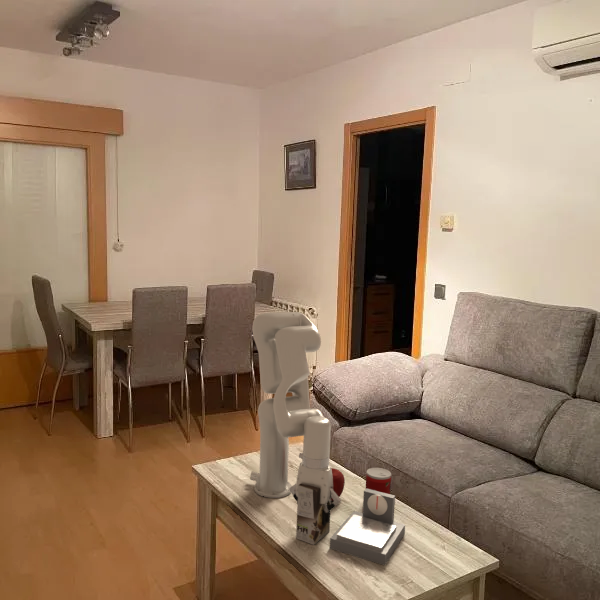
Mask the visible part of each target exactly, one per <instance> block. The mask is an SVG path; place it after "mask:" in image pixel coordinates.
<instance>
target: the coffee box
mask: <svg viewBox="0 0 600 600" xmlns="http://www.w3.org/2000/svg"><path fill="white" fill-rule="evenodd" d="M320 491H321V489H320V488H318V487H314V486H310V485H304V484H299V485H298V505H297V507H296V508H297V511H296V533H295V534H296V535H295V539H297V540H300V541H302V542H305V543H308V544H311V545H313V546H314V545H315V544H317V543H318V542H319V541H320V540H322V539H323V538H324V537H325V536H327V535H328V533H330V528H331V520H330V521H329V522H328V523H327V524H326V525H325V526H324V525H322V513H323V511H324V508H323V506H322V504H320ZM329 500H330V502H331V503H332V501H331V499H329Z"/></svg>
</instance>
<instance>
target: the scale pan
mask: <svg viewBox="0 0 600 600" xmlns="http://www.w3.org/2000/svg"><path fill="white" fill-rule="evenodd" d="M395 530H396V526H395V525H391V524H387V523H384V522H380V521H376V520H372V519H369V518H365V517H361V516H358V515H353V516H352V517H351V519H350V520H349V521H348V522H347V523H346V524H345V526H344V527H343V528H342V529H341V530H340V531H339V533H338V534H337V538H338V539H341V540H345V541H348V542H352V543H355V544H358V545H362V546H365V547H369V548H372V549H375V550H379V551H382V550H383V548H384V547H385V545H386V544H387V542H388V541H389V539H390V538H391V536H392V535H393V533H394V532H395Z"/></svg>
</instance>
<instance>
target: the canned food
mask: <svg viewBox="0 0 600 600" xmlns="http://www.w3.org/2000/svg"><path fill="white" fill-rule="evenodd" d="M391 485H392V473H391V471H390V470H388V469H387V468H386V469H385V468H382V467H371V468H368V469H366V473H365V489H371V490H375V491H379V492H383V493H387V494H391V489H392V488H391V487H392V486H391Z"/></svg>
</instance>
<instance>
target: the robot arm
mask: <svg viewBox="0 0 600 600" xmlns="http://www.w3.org/2000/svg"><path fill="white" fill-rule="evenodd" d="M252 336H253V340H254V343H255V346H256V349H257V353H258V364H259V374H260V375H259V376H260V377H259V378H260V379H259V380H260V387H261V389H262V391H263V393H265V394H267V395H268V394H269V395H273V394H274V396H273V397H271V398H267V399H264V400H263V401H261V402H260V403H259V404H258V408H257V414H258V421H259V432H260V435H259V436H260V437H259V441H260V443H259V472H257V471H251V472H250V475H249V476H250V477H249V480H251V481H255V484H254V491H255V493H256V494H257V495H259V496H261V497H263V496H264V498H269V499H276V498H277V499H278V498H283V497H286V496H288V495H290V494H291V495H292V496H293V498H294V500H295V501H296V505H297V506H298V485H299V484H304V485H310V486H314V487H318V488H320V489H321V491H320V504H322V506H323V508H324V511H323V513H322V525H324V526H325V525H326V524H327V523H328V522H329V521H330V522H331V511H332V510H333V509H334V508H335V507H336V506H337V505H339V504H340V503H341V502H342V499H341V497H338V495H337V494H336V493H335V492H334V490H333V476H332V469H331V468H332V466H331V465H330V453H331V452H330V451H331V449H330V448H331V430H332V429H331V427H332V426H331V425H332V424H331V421H330V420H329V418H327V417H325V416H324V413H322V411H321V410H320V409H318V408H311V403H310V402H311V401H310V386H309V378H308V377H309V376H310V368H309V363H308V360H307V354H306V353H315V352H318V350H320V347H321V346H322V345H321V344H322V339H321V334H320V331H319V330H318V328H317V326H316V325H315V324H314V323H313V321H311V320H310V319H309V317H307V315H305V314H304V312H299V311H282V312H279V311H276V312H275V311H274V312H265V313H261V314H258V315H257V316H255V318H254V319H253V322H252ZM288 393H291V394H292V396H287V394H288ZM301 436H302V437H303V441H302V443H303V447H302V449H303V450H302V452H300V453H298V457H299V459H301V462H300V463H299V466H298V470H297V475H296V483H295V484H293V485H292V484H291V483H290V482H289V478H288V477H289V449H290V448H289V447H290V446H289V445H290V444H289V443H290V440H289V438H294V437H295V438H296V437H301ZM331 498H332V499H333V501H331V502H330V500H329V499H331Z"/></svg>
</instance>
